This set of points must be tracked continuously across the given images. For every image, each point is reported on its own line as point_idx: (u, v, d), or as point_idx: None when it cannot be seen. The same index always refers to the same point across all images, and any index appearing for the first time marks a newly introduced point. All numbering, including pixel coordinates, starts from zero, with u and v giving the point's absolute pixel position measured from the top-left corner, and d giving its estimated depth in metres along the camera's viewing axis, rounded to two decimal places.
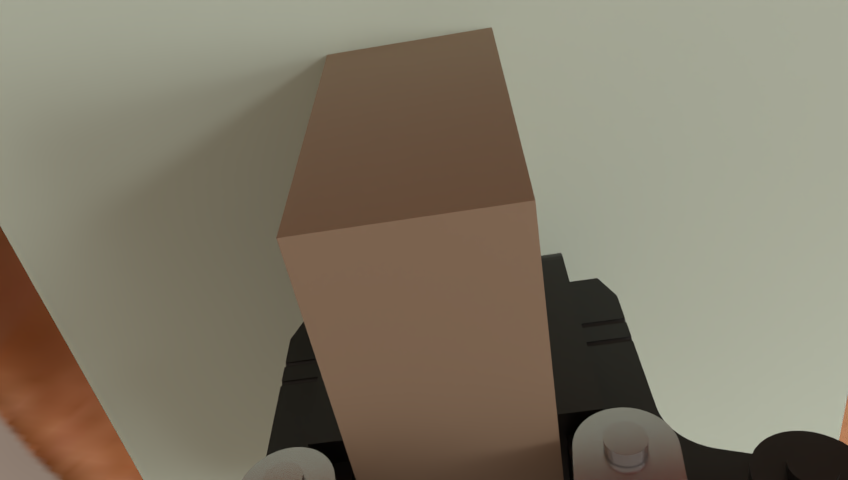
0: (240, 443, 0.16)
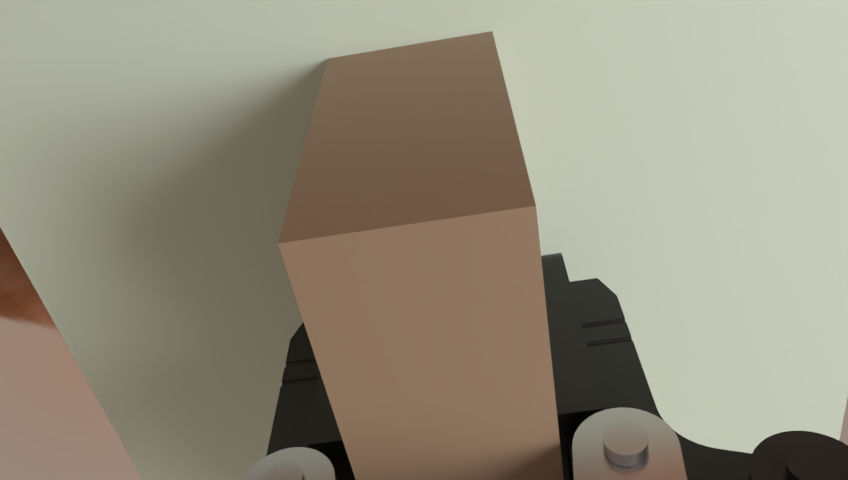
0: (240, 445, 0.16)
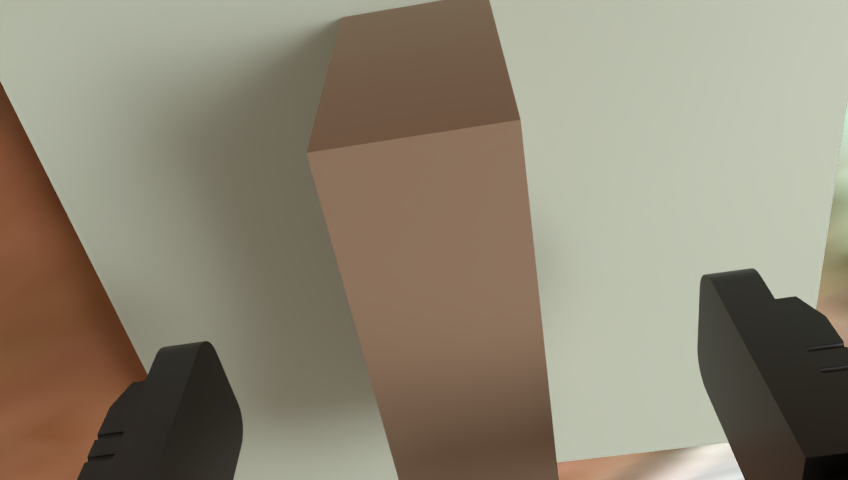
0: (258, 382, 0.18)
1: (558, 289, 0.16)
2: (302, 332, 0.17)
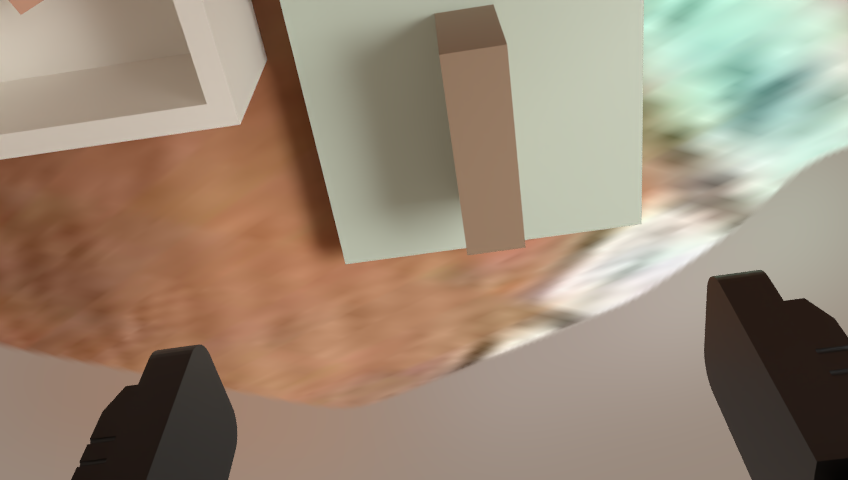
0: (378, 190, 0.37)
1: (523, 140, 0.36)
2: (402, 162, 0.36)
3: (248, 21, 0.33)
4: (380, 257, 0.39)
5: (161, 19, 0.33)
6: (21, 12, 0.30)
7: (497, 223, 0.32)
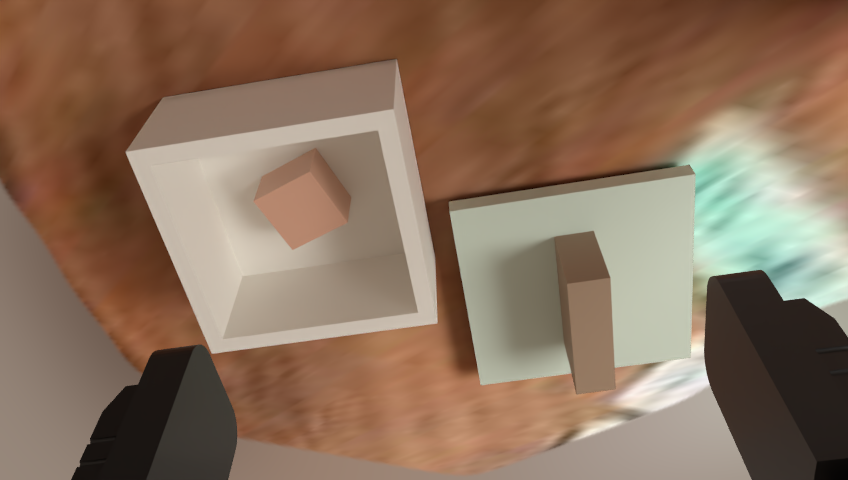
0: (508, 339, 0.53)
1: None
2: (526, 322, 0.52)
3: (430, 241, 0.49)
4: (505, 380, 0.55)
5: (369, 237, 0.50)
6: (293, 248, 0.47)
7: (597, 375, 0.48)
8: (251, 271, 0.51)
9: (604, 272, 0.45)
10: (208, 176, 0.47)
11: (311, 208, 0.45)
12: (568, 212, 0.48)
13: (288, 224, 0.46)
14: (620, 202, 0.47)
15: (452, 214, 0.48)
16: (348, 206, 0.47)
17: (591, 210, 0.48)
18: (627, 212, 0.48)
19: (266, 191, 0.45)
